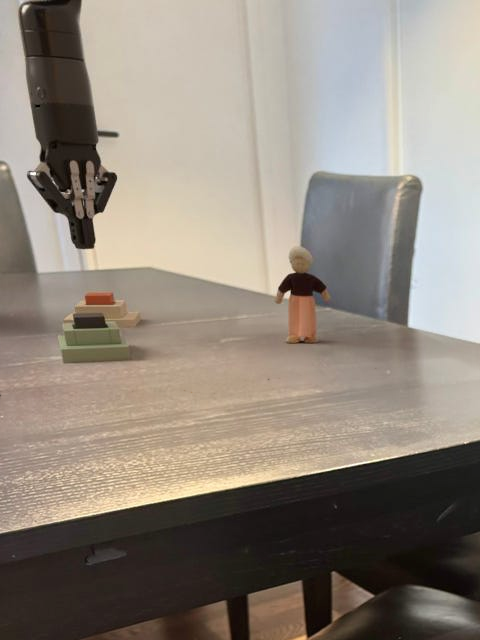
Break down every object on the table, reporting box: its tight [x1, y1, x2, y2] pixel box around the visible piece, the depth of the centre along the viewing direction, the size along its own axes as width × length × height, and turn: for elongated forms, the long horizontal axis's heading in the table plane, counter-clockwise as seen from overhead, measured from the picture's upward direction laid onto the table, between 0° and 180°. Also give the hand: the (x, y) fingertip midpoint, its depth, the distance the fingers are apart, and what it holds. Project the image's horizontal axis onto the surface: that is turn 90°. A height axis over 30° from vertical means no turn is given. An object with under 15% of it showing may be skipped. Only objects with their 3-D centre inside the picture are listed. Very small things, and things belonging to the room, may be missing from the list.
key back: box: [84, 292, 115, 305], centre depth 139 cm, size 4×4×2 cm
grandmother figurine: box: [274, 245, 331, 344], centre depth 128 cm, size 8×4×13 cm, turn 114°
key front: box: [73, 313, 106, 329], centre depth 117 cm, size 4×4×2 cm
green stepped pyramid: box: [57, 321, 132, 364], centre depth 118 cm, size 11×8×4 cm
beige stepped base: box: [62, 300, 142, 329], centre depth 140 cm, size 10×8×3 cm
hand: (84, 248), depth 124 cm, fingers closed
